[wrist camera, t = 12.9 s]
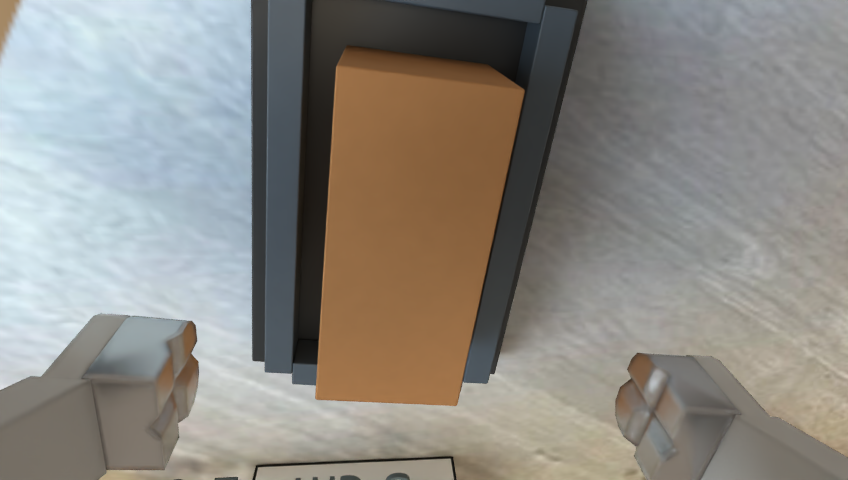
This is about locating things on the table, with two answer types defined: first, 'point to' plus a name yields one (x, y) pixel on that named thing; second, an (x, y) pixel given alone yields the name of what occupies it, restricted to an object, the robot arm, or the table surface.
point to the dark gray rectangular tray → (312, 133)
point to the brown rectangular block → (409, 222)
